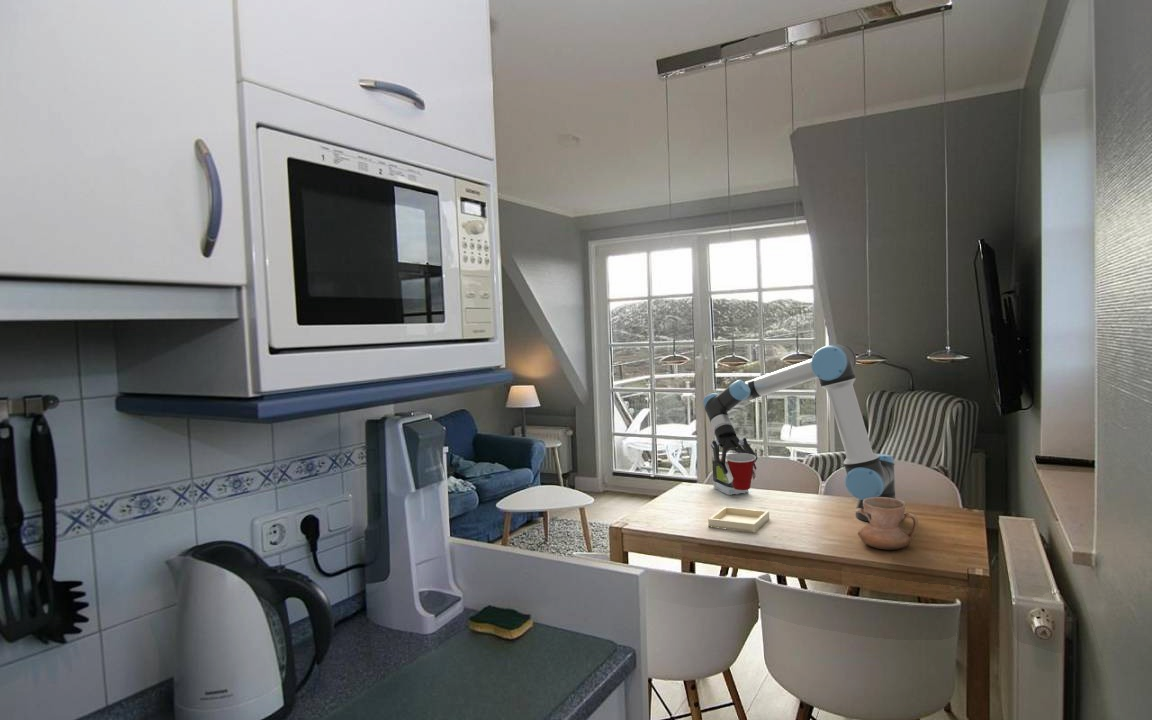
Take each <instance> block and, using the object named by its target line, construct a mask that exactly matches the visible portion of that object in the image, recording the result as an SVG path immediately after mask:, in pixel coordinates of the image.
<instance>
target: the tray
mask: <svg viewBox="0 0 1152 720" xmlns="http://www.w3.org/2000/svg"><path fill="white" fill-rule="evenodd" d="M769 520H770V511H769V510H761V509H751V508H742V507H731V506H724V507H722V508H721V509H720V510H718V511H717V512H716V513H714V514H713V515H711V516H710V517H708V519H707V521H708V527H709V526H712V527H719V528H718V529H720V528H726V529H725V530H728V529H732V530H731V531H736V530H739V532H744V531H747V532H746V533H752V532H754V533H757V531H759V530H760V527H761V526H762V525H763V524H764V523H765V524H766V523H767V522H768V521H769ZM765 524H764V525H765ZM764 525H763V526H764ZM763 526H762V527H763ZM712 527H711V528H712ZM762 527H761V528H762ZM733 529H734V530H733ZM754 533H753V534H754Z"/></svg>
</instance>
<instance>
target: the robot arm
mask: <svg viewBox="0 0 1152 720" xmlns="http://www.w3.org/2000/svg"><path fill="white" fill-rule="evenodd" d="M856 365H857V354H856V352H855V351H854V350H853V348H852V347H850V346H849V345H847V344H844V343H834V344H829V345H825V346H821V348H819V349H817V350H816V351H815V352H814V353H813V355H812V358H809V359H807V360H804V361H802V362H798V363H795V364H793V365H789V366H787V367H784V368H781V369H778V370H775V371H772V372H770V373H767V374H765V375H761V376H759V377H755V378H753V379H749V380H746V381H743V380H741V379H738V380H736V381H734V382H731V384H729V386H728V387H726V388H725V389H724V390H723V391H722V392H720V393H716V392H714V393H713V392H712V393H710V394H708V395H706V396H705V397H704V398H703V400H702V404H703V406H704V411H705V412H706V415H707V418H708V419H709V422H710V425H711V428H712V430H713V433H714V436H715V438H716V440H717V441H716V440H712V441H711V444H710V446H711V448H712V450H713V451H712V452H713V456H714V461H715V466H720V468H722V471H723V473H724V474H726V475H727V478H728V481H729V483H731V482H732V480H733V476H732V474H731V471H730V469H729V466H728V463H726V464H725V460H726V455H727V452H729V451H734V453H748V454H752V455H755V456H756V459H755V461H754V465H753V472H752V479H753V480H752V481H756V480H757V478H758V473H757V466H756V462H757V460H758V456H757V454H756V453H755V452H754V450H753V449H752V447H751V446H750V445H749V443H748V440H747V438H746V437H743V438H742V439H741V438H739V437H738V435H737V433H736V430H735V428H734V425H733V423H732V421H731V418H730V415H729V411H731V410H732V409H734V408H735V407H737V406H738V405H739V404H742V403H746V402H748V401H753V400H756V399H758V398H761V397H763V396H766V395H770V394H773V393H776V392H779V391H782V390H785V389H788V388H791V387H795V386H797V385H801V384H804V383H807V382H811V381H813V380H815V379H818V380H819V384H820V387H821V388H822V389H824V390H825V391H826V392H827V394H828V395H827V396H828V399H829V402H830V405H831V408H832V412H833V415H834V419H835V422H836V425H837V429H838V432H839V433H838V434H839V435H840V440H841V443H842V447H843V449H844V453H845V457H846V458H845V459H844V461H843V467H844V470H845V473H846V475H845V481H844V483H845V487H846V489H847V491H848V492H849V494H850V495H851V496H852V497H855V498H856V499H858V500H857V504H856V506H855V509H857V508H862V509H864V507H863V500H864V499H866V498H871V497H888V498H894V499H897V497H896V480H895V479H896V478H895V477H896V476H895V465H896V463H895V459H894V456H892V455H890V454H884V453H875V452H874V451H873V449H872V445H871V442H870V438H869V434H868V431H867V428H866V426H865V420H864V418H863V414H862V411H861V408H860V405H859V401H858V397H857V395H856V391H855V388H854V386H853V385H854V383H855V381H856V379H857V377H856V374H855V370H854V369H855V367H856ZM719 447H721V448H722V449H721V455H722V457H721V461H720V458H719V455H720V452H719V451H720V450H719ZM855 517H856V518H857V520H858V519H859V520H860V521H861V520H862V521H864V522H869V520H868V518H867V517H866V516H865V515H863V514H861V513H856V512H855ZM869 523H870V522H869Z"/></svg>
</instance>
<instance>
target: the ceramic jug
mask: <svg viewBox="0 0 1152 720" xmlns="http://www.w3.org/2000/svg"><path fill="white" fill-rule="evenodd" d="M863 507H864V509H862V508H857V509H856V508H855V509H854V512H855V514H856V513H861V514H863V515H865V516H866V517H867V518H868V520H869V523H868V524H867V525H864V526H863V527H862V528H861V529H860V530H858V531H857V535H858V536H859V538H860V540H861V542H863V543H864V544H866V545H868V546H869V547H871V548H875V549H878V550H887V551H888V550H890V551H891V550H899V549H902V548H905V547H907V546H908V545H909V544H910V543H911V541H912V540H913V536H914V535H915V533H916V532H917V530H918V528H919V527H918V526H919V519H918V517H917V516H916V515H915V514H913V513H910V512H908V513H907V512H906V513H905V511H906V503H905V501H904V500H901V499H898V498H896V499H894V498H888V497H871V498H866V499H864V500H863ZM907 518H909V519H910V518H911V519H912V521H913V522H912V523H913V525H912V529H911V530H910V532H907V531H906V530H905V529H904V528H902V527H901V526H900V524H901V522H902V521H904V520H905V519H907Z"/></svg>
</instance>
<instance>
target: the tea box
mask: <svg viewBox="0 0 1152 720" xmlns="http://www.w3.org/2000/svg"><path fill="white" fill-rule="evenodd" d="M727 455H728V454H726V456H727ZM721 457H722V454H719V458H720V461H721ZM711 461H712V479H713V481H712V482H713V483H712V485H713V488H714V489H716V490H718V491H719V492H722V493H723V494H726V495H727V496H733V495H732V494H736V495H739V494H738V493H744V494H746V493H745V492H748V493H749V489H748V490H736V489H734V487H733V482H731V483H729V481H728V478H727V475H726V474H724V473H723V471H722V468H720V466H715V461H714V455H712V456H711ZM726 463H728V462H727V459H726V460H725V464H726ZM728 466H729V465H728Z"/></svg>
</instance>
